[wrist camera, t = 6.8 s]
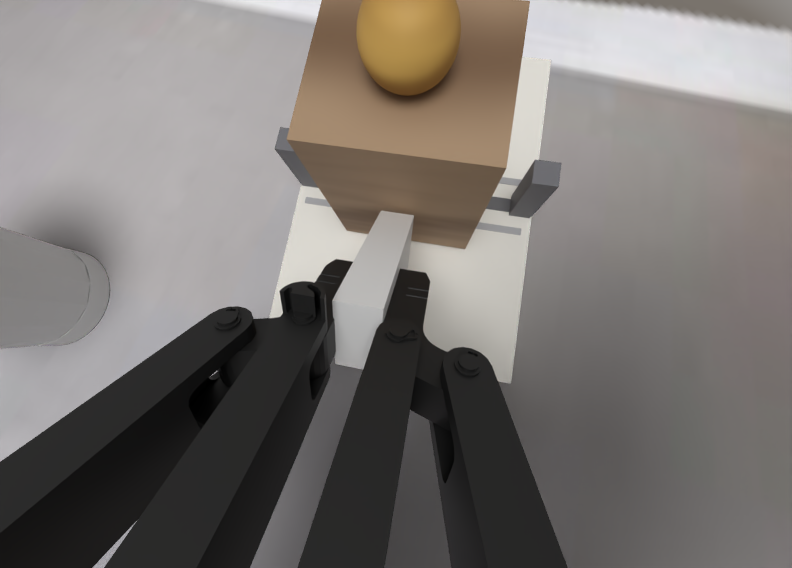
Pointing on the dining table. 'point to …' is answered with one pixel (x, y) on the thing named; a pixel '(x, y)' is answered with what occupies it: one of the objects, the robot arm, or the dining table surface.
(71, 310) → the cup
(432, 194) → the block
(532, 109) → the stand
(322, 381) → the robot arm
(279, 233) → the dining table surface
